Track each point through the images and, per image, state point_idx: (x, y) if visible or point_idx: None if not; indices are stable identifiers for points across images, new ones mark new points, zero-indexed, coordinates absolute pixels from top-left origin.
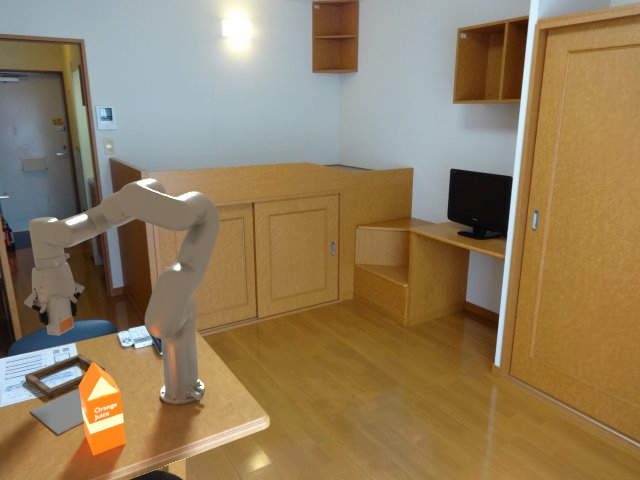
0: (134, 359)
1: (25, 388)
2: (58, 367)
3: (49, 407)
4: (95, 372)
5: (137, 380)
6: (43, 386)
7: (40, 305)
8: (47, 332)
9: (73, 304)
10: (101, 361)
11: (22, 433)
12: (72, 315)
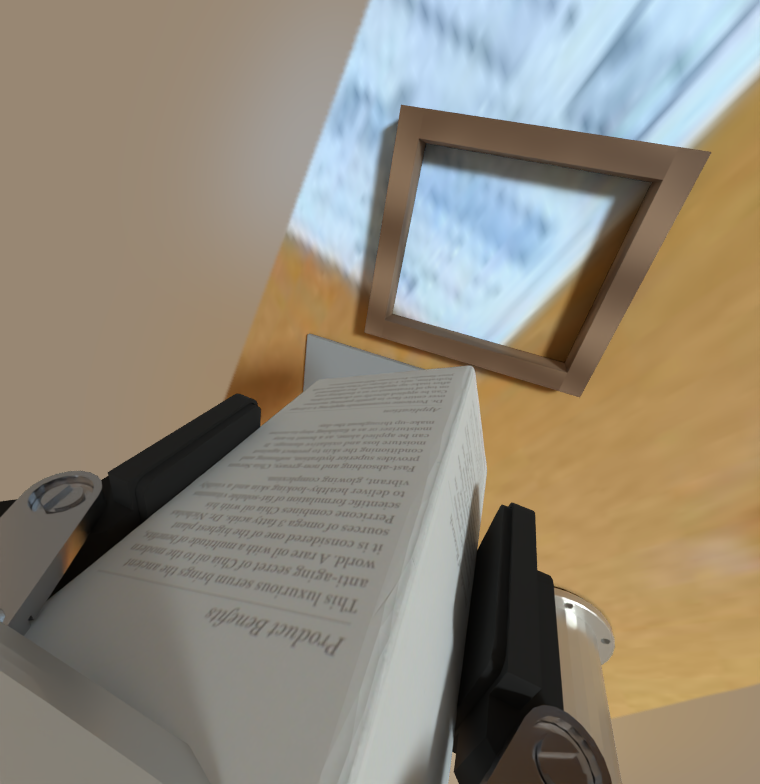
0: (747, 420)
1: (374, 179)
2: (542, 161)
3: (342, 372)
4: None
5: (568, 506)
6: (380, 283)
7: (32, 563)
8: (311, 387)
9: (453, 744)
10: (691, 288)
11: (262, 389)
12: (476, 556)
